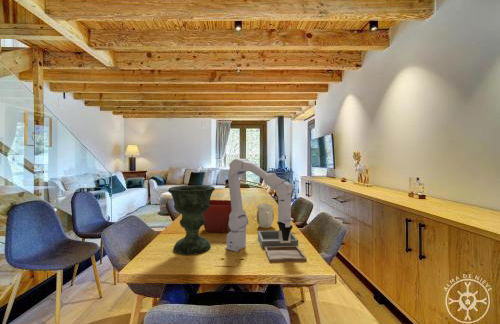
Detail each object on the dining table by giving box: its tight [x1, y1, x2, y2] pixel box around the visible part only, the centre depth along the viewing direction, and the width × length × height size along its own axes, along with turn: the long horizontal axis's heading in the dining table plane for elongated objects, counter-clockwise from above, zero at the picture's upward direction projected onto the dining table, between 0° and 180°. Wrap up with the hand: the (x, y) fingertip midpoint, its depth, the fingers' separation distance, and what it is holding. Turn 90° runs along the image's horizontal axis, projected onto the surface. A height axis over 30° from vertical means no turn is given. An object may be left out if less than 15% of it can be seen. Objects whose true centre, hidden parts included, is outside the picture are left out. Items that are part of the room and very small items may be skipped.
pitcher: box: [256, 202, 275, 229], centre depth 174 cm, size 11×18×14 cm, turn 8°
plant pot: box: [202, 199, 232, 233], centre depth 168 cm, size 19×19×17 cm
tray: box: [264, 245, 308, 263], centre depth 124 cm, size 16×16×2 cm
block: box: [278, 230, 291, 243], centre depth 124 cm, size 4×4×4 cm
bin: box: [257, 230, 299, 249], centre depth 143 cm, size 18×18×4 cm
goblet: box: [167, 184, 216, 256], centre depth 134 cm, size 22×23×30 cm
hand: (284, 238), depth 124 cm, fingers closed on block, 4 cm apart
